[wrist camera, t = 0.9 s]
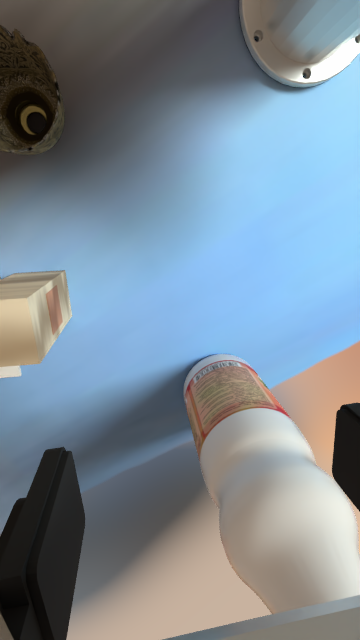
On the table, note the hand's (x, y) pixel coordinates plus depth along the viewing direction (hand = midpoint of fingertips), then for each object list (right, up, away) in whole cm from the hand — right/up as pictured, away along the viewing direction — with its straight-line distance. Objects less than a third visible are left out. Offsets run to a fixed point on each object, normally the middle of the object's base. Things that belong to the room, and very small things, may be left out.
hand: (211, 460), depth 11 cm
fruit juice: (+4, -3, +29) cm, 29 cm away
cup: (-14, +23, +18) cm, 32 cm away
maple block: (-15, +7, +23) cm, 29 cm away
